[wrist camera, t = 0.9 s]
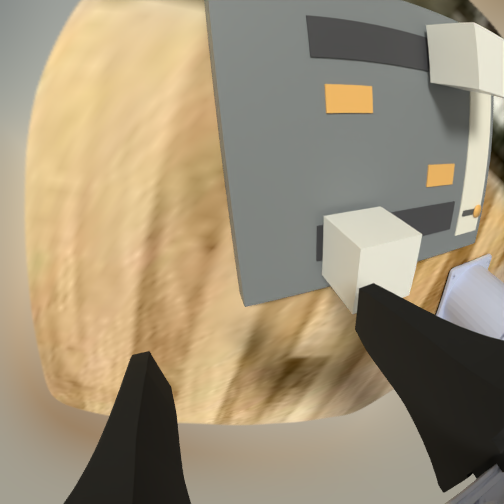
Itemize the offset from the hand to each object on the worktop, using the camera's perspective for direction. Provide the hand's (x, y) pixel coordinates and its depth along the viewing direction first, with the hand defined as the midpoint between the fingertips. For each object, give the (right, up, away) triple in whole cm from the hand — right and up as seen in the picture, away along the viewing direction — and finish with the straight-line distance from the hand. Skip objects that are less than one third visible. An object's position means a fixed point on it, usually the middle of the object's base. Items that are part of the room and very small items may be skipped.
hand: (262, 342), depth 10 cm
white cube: (+6, +4, +8) cm, 11 cm away
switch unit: (+9, +11, +8) cm, 16 cm away
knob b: (+12, +16, +4) cm, 20 cm away
